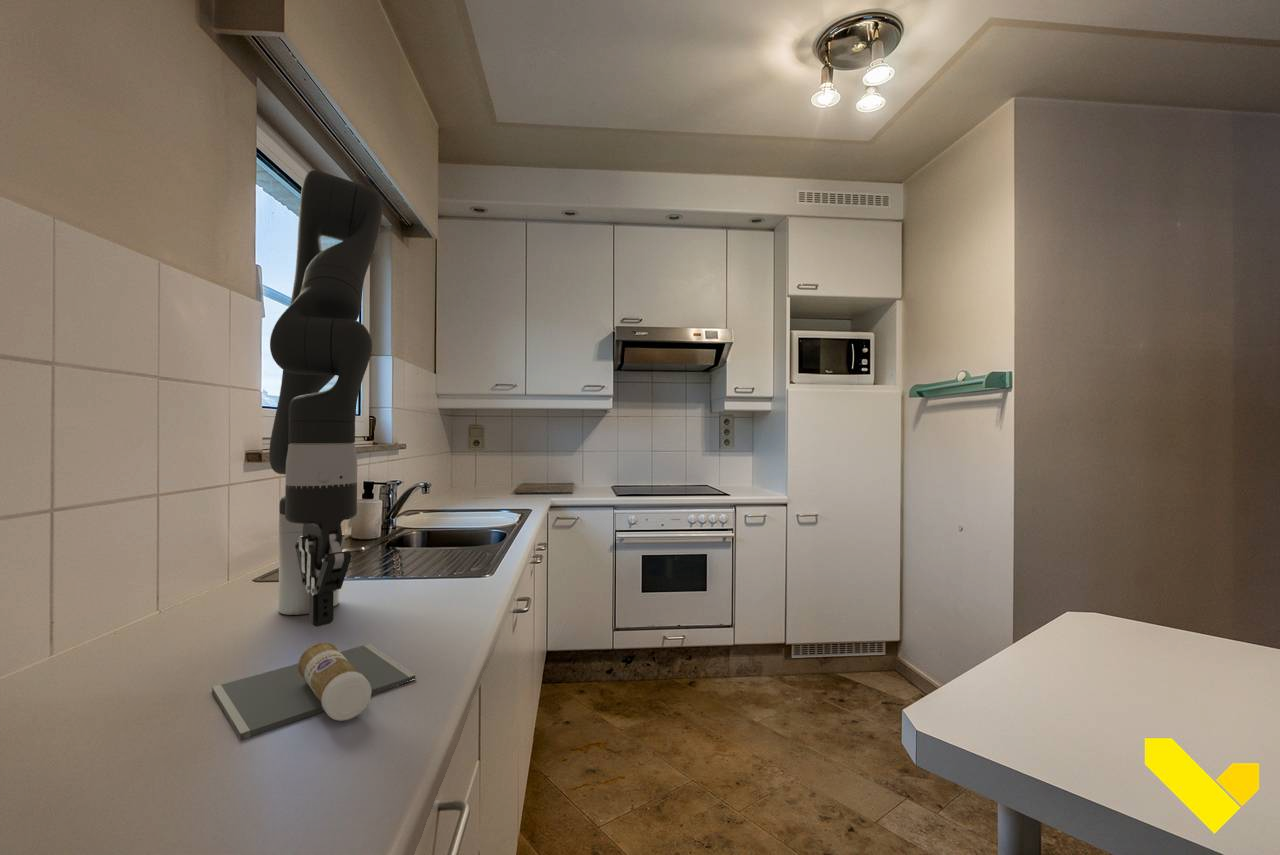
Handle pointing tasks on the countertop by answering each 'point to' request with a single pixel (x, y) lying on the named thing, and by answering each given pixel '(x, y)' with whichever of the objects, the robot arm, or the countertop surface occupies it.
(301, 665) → the sprinkles bottle
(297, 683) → the mat
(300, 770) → the countertop surface
